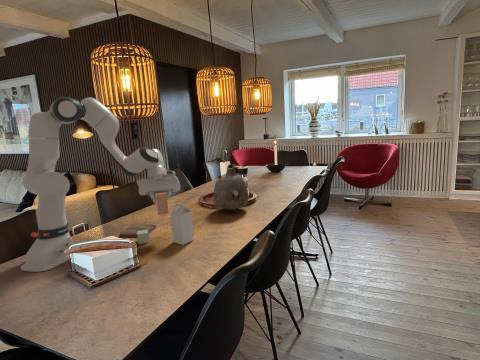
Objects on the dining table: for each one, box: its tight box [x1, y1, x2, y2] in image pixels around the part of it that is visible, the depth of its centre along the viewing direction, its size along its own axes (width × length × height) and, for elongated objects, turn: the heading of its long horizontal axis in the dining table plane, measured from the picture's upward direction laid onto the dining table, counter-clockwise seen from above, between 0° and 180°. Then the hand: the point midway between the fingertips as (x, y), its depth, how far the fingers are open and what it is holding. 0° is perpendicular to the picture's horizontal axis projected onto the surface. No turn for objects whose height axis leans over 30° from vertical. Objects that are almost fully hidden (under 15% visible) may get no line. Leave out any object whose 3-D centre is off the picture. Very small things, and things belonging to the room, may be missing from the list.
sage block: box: [137, 230, 150, 245], centre depth 154 cm, size 5×5×5 cm
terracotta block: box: [154, 192, 169, 216], centre depth 154 cm, size 5×5×10 cm
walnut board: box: [118, 224, 157, 238], centre depth 168 cm, size 14×14×2 cm
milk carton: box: [170, 202, 194, 246], centre depth 151 cm, size 7×7×19 cm
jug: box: [213, 163, 249, 212], centre depth 194 cm, size 24×21×30 cm
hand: (161, 199), depth 153 cm, fingers closed on terracotta block, 5 cm apart
